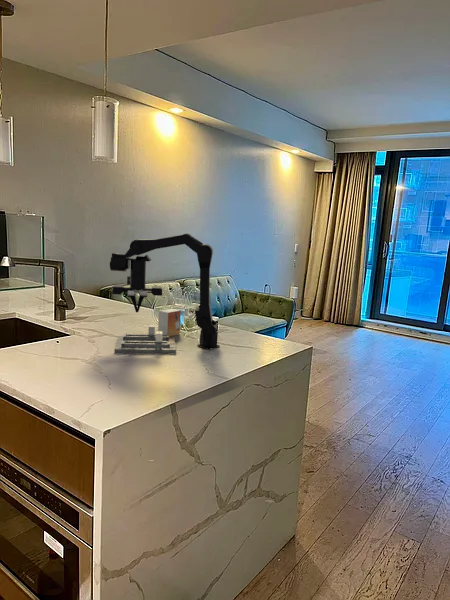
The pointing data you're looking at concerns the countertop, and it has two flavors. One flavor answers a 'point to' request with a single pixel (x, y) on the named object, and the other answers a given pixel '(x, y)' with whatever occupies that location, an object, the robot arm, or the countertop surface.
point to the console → (145, 344)
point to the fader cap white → (158, 337)
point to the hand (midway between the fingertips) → (137, 312)
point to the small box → (169, 322)
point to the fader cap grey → (151, 330)
